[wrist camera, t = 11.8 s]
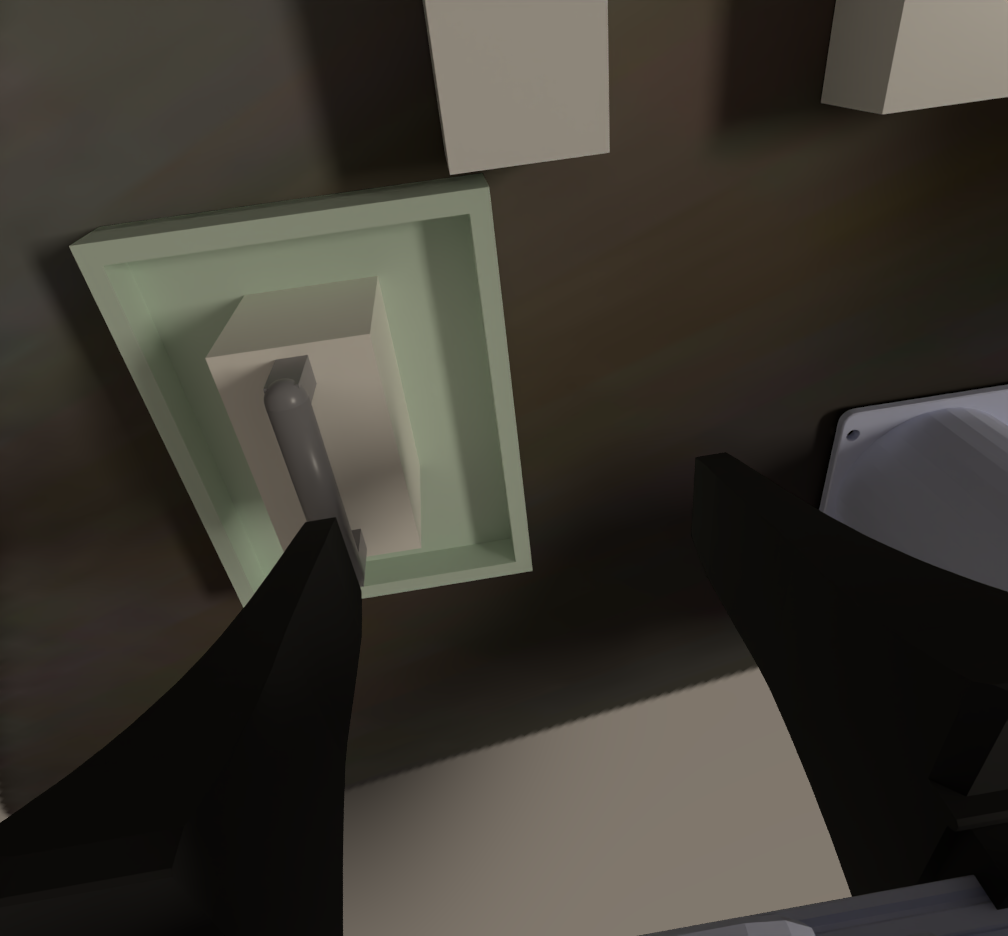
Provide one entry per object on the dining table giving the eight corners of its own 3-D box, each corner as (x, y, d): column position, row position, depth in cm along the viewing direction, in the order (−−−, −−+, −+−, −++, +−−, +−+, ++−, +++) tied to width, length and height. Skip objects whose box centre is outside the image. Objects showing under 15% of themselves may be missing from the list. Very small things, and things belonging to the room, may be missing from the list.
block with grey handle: (420, 466, 24) (422, 594, 18) (309, 483, 23) (279, 618, 18) (377, 275, 20) (364, 369, 14) (244, 295, 19) (180, 396, 14)
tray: (525, 537, 27) (532, 570, 25) (258, 580, 26) (248, 617, 25) (482, 173, 19) (489, 187, 17) (99, 226, 18) (69, 246, 17)
